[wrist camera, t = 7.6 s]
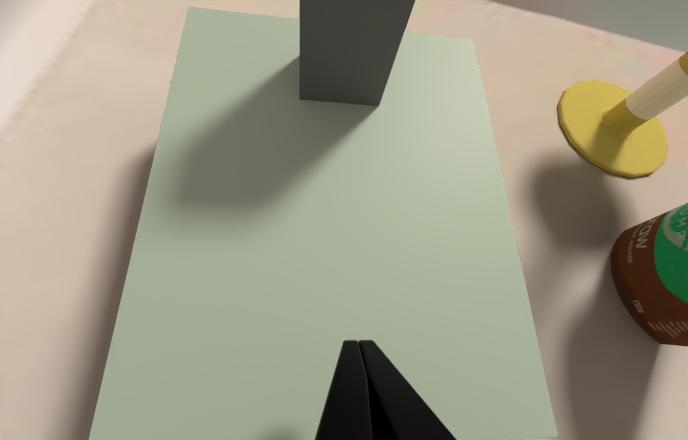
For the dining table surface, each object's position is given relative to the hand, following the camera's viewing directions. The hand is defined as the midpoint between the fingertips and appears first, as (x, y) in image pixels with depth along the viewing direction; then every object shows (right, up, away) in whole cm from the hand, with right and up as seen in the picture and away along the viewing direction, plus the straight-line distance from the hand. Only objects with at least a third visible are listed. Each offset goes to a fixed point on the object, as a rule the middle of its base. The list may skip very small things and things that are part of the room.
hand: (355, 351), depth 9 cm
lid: (-1, +5, +6) cm, 8 cm away
